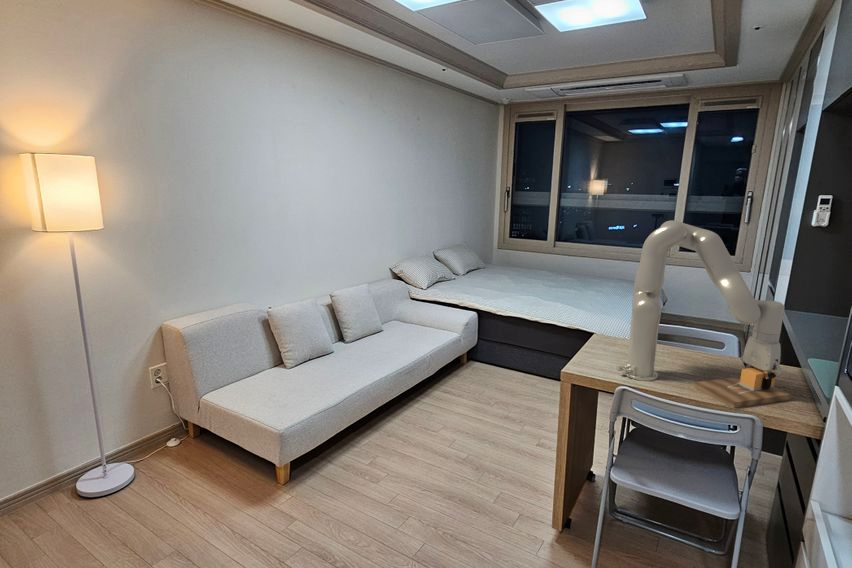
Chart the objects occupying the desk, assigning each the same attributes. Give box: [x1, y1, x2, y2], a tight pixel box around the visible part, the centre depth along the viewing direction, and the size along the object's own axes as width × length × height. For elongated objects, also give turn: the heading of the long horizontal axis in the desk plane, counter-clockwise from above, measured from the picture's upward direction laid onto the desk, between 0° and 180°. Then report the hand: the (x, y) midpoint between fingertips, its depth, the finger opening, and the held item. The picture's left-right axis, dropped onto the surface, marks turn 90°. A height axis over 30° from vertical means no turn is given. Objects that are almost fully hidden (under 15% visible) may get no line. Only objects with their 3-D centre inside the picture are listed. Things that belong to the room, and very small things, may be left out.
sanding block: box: [740, 367, 776, 391], centre depth 157 cm, size 10×5×6 cm, turn 108°
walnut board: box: [693, 376, 793, 409], centre depth 156 cm, size 24×16×2 cm, turn 104°
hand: (757, 384), depth 157 cm, fingers closed on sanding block, 5 cm apart
